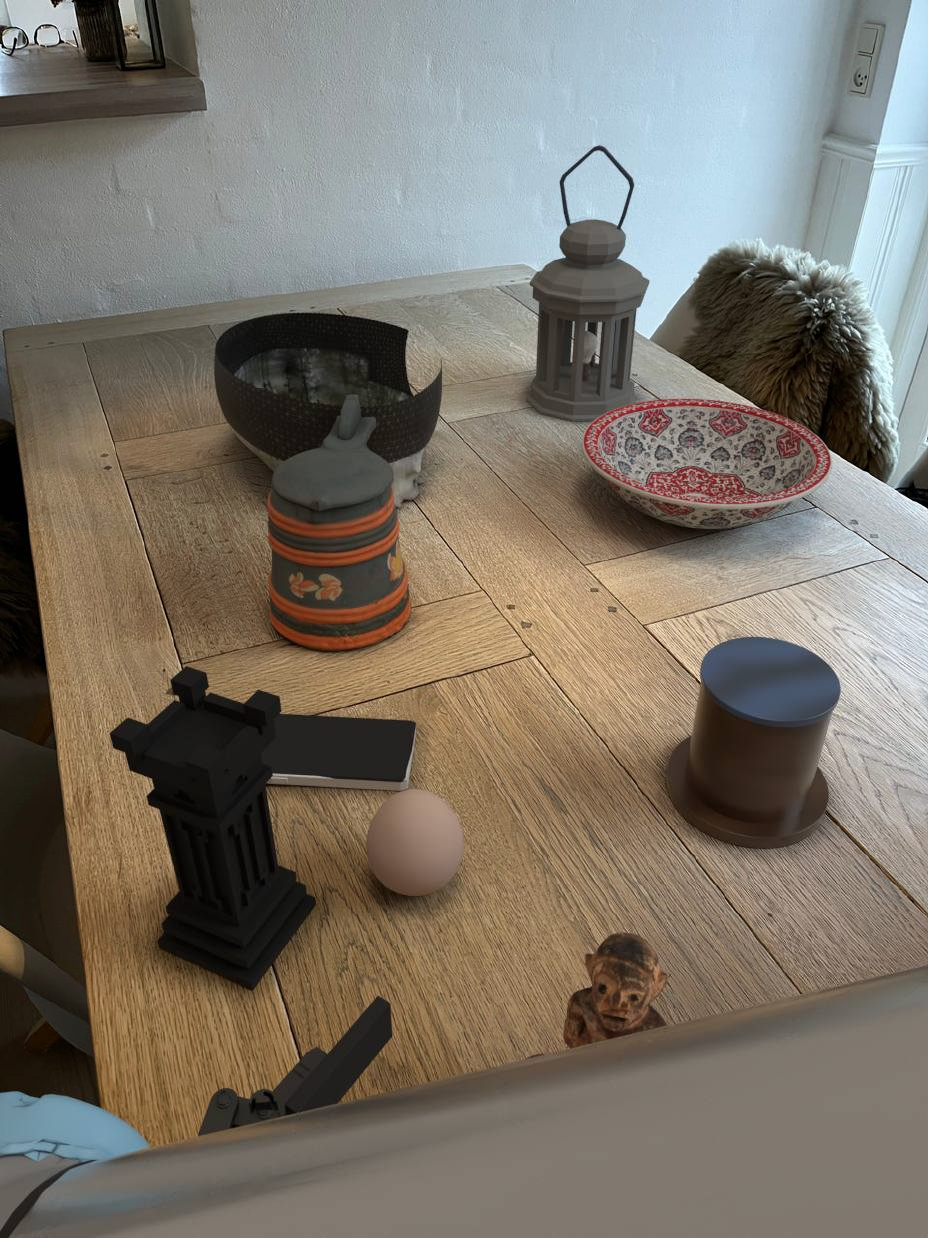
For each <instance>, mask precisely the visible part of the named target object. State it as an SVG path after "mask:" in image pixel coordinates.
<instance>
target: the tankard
mask: <svg viewBox="0 0 928 1238" xmlns="http://www.w3.org/2000/svg"><path fill="white" fill-rule="evenodd" d="M375 428H376V418H375V417H363V418H362V417H361V412H360V405H359V398H358V396H357V395H354V394H353V395H347V396H346V399H345V401H344V404H343V406H342V410H341V415H340V416H337V419H336V422H335V424H334V426H333V428H332V430H331V432H330V433H329V435H328V436H327V437H326V438H325V439H324V440H323V443H322V446H321V447H320V448H317V449H312V450H309V451H305V452H302V453H300V454H297V455H295V456H293V457H291V458H289V459H287V460H286V461H284V462H283V463H282V464H281V465H279V466H278V467H277V469H276V470H275V472H274V471H273V474H272V479H271V486H270V491H269V492H268V496H267V540H268V544H269V546H270V548H271V570H270V572H269V576H268V591H269V592H268V598H269V619H270V622H271V624H272V626H273V628H274V629H275V630H276V631H277V632H278V633H280V634H281V635H282V636H283V637H285V638H286V639H288V640H290V641H291V642H293V643H295V644H296V645H298V646H301V647H305V648H307V649H311V650H319V651H324V652H338V651H339V652H340V651H346V650H347V651H348V650H355V649H361V648H365V647H369V646H373V645H376V644H378V643H380V642H381V641H383V640H386V638H388V637H392V636H393V635H394V634H395V633H398V632H400V630H402V628H403V627H404V625H405V624H406V622H407V621H408V620H409V619H410V616H411V612H412V604H411V594H410V590H409V572H408V570H407V566H406V563H405V561H404V559H403V554H402V549H401V543H400V537H399V535H400V530H401V529H400V527H401V526H400V520H399V515H398V511H397V508H396V506H395V499H394V495H393V488H392V484H393V481H394V478H393V476H394V474H393V470H392V467H391V466H390V464H389V463H388V462H387V461H385V460H384V459H383V458H382V457H380V456H379V455H377V454H375V453H374V452H372V451H370V450H369V449H368V448H367V444H366V443H367V441H368V439H369V437H370V435H371V433H372V431H373V430H374V429H375Z"/></svg>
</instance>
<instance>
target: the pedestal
mask: <svg viewBox="0 0 928 1238" xmlns="http://www.w3.org/2000/svg"><path fill="white" fill-rule="evenodd" d="M699 680H700V685H699V690H698V696H697V702H696V708H695V712H694V713H695V714H694V720H693V725H692V730H691V735H689V736H688V737H686V738H684V739H683V740H682V741H681V742H680V743H679V744H678V745H677V746H676V747H675V748H674V750H673V751H672V753H671V754H670V756H669V759H668V763H667V767H666V774H665V786H666V792H667V794H668V797H669V799H670V800H671V803H672V804H673V806H674V807H675V809H676V810H677V812H678V813H679V814H680V815H681V816H682V817H683V818H684V819H685V820H686V821H687V822H688V823H689V824H691V825H692V826H693V827H695V828H697V829H698V830H699V831H701V832H702V833H704V834H706V835H708V836H710V837H711V838H714V839H715V840H716V839H717V840H719V841H721V842H724V843H727V844H731V845H734V846H739V847H744V848H749V849H774V848H775V849H776V848H783V847H787V846H790V845H794V844H797V843H799V842H800V841H803V840H805V839H806V838H808V837H810V836H811V835H812V834H813V833H815V831H816V830H818V828H819V827H820V825H821V824H822V823H823V820H824V818H825V815H826V811H827V809H828V804H829V800H830V791H829V785H828V783H827V780H826V776H825V775H824V773H823V772H822V769H821V768H820V767H819V762H820V759H821V755H822V752H823V747H824V744H825V741H826V737H827V733H828V730H829V725H830V723H831V720H832V715H833V712H834V710H835V709H836V707H837V706H838V704H839V701H840V698H841V693H842V691H841V690H842V686H841V683H840V679H839V677H838V675H837V673H836V672H835V670H834V668H832V667H831V665H830V664H829V663H828V662H826V661H825V659H823V658H822V657H820V656H819V655H818V654H817V653H814V652H813V651H811V650H809V649H807V648H806V647H803V646H801V645H798V644H796V643H793V642H790V641H787V640H783V639H778V638H773V637H766V636H743V637H736V638H732V639H728V640H725V641H722V642H720V643H718V644H716V645H715V646H713V647H711V649H709V651H707V653H706V654H705V655H704V656H703V658H702V660H701V664H700V668H699Z"/></svg>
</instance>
